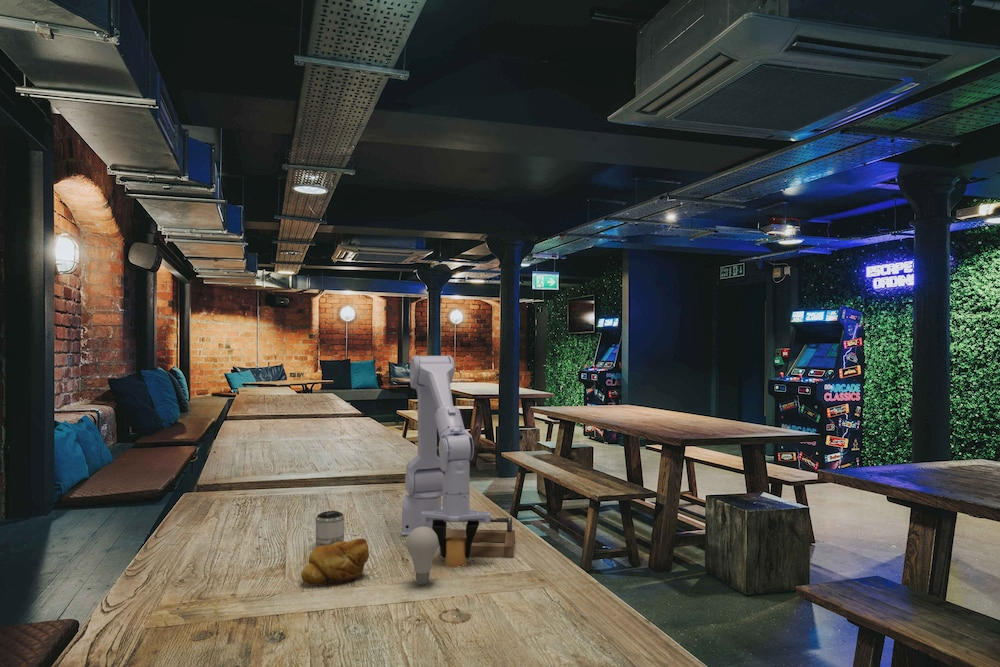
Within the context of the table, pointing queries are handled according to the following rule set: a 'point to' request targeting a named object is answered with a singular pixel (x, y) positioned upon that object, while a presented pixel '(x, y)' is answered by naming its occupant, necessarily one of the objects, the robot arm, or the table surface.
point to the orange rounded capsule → (455, 551)
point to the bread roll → (336, 562)
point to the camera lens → (329, 528)
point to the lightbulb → (422, 551)
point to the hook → (508, 520)
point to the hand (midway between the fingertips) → (456, 556)
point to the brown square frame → (488, 548)
